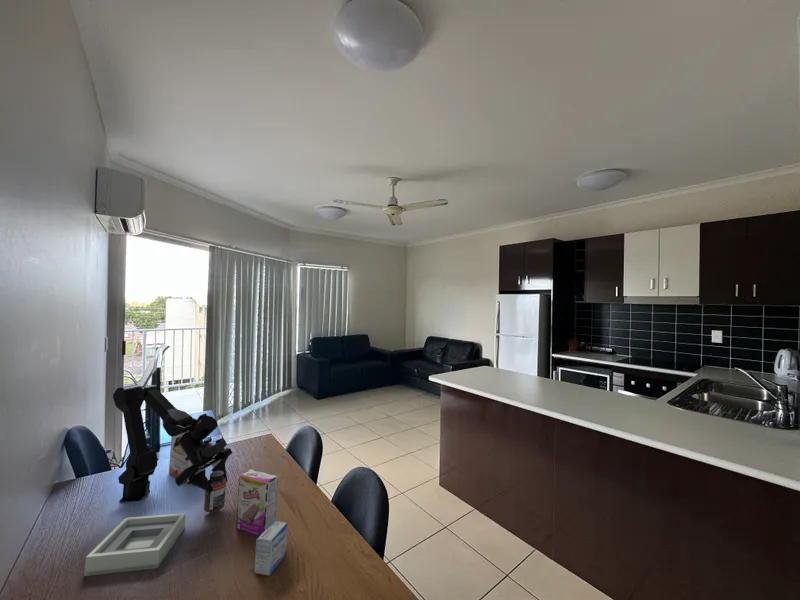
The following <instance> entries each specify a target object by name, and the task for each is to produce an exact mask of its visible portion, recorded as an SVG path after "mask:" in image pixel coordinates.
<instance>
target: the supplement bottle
mask: <svg viewBox="0 0 800 600" xmlns="http://www.w3.org/2000/svg"><path fill="white" fill-rule="evenodd" d="M223 476H224V472H223V471H215V472H210V475H209V479H208V481H209V482H210V484H211V486H212V488H213V491H212V492H211V493H210V492H208V491H206V490H204V492H205V493H204V503H203V505H204V506H203V511H204V512H206V513H208V514H209V513H211V514H212V513H216V512H217V513H218V512H220V511H221V510H222V509H223V508H224V507H225V503H226V491H227V488H226V487H227V482H226V479H225V478H224V477H223Z"/></svg>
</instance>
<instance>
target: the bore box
mask: <svg viewBox="0 0 800 600" xmlns="http://www.w3.org/2000/svg"><path fill="white" fill-rule="evenodd" d="M186 517H187V513H186V512H183V513H181V512H180V513H169V514H159V515H144V516H132V517H125V518H124V519H123V520H122V521H121V522H119V524H118V525H117V526H115V528H113V530H112V531H110V533H109V534H108V535H107V536H105V538H104V539H102V541H101V542H99V544H98V545H96V547H95V548H93V549H92V550H91V551H90V552H89V553H88V555H86V557H85V561H84V571H83V572H84V573H83V577H89V576H91V577H92V576H99V575H108V573H109V574H116V573H117V574H118V573H126V572H133V571H134V572H135V571H144V570H153V569H154V570H155V569H158V568H159V567H160V566H161V564H162V562H163V561H164V559H165V558H166V557H167V555H168V553H169V552H170V551H171V549H172V548H173V546H174V545H175V544H176V542H177V541H178V539H179V538H180V536H181V535H182V533H183V531H184V530H185V527H186Z"/></svg>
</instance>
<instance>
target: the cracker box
mask: <svg viewBox="0 0 800 600" xmlns="http://www.w3.org/2000/svg"><path fill="white" fill-rule="evenodd" d="M187 432H190V431H187ZM187 432H185V433H187ZM185 433H182V434H180V435H177V436H170V437H171V438H170V439H171V440H170V452H169V464H168V465H169V466H168V473H169V474H170V475H171V476H173V477H174V478H176V477H177V476H178V475H179V474H180V473H182V472H183V471H184V470H185V469H186V468H188V467H190V466H192V463H191V462H190V460H188V461H186V460H185V458H186V457H187V455H186V454H185V452H184V450H183V449H182V447H181V446H180V445H179V446H176V447H174V444H175V441H176V438H178V437H181V436H182V435H183V434H185ZM202 441H203V442H204V440H202ZM188 482H189V480H188V479H187V482H186V483H185V484H187V483H188Z"/></svg>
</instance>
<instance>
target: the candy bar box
mask: <svg viewBox="0 0 800 600" xmlns="http://www.w3.org/2000/svg"><path fill="white" fill-rule="evenodd" d="M278 482H279V476H278V475H275V474H271V473H266V472H264V471H259V470H255V469H252V468H251V469H249V470H246V471H245V472H243V473H240V475H239V480H238V490H237V491H238V492H237V493H238V494H237V495H238V497H237V508H236V509H237V510H236V522H235V523H236V524H235V530H237V531H242V532H244V533H247V534H250V535H253V536H256V537H259V536H260V535H261V534H262V533H263V532H264V531H265V530H266V529H267V528H268V527H269V526H270V525H271V524H272V523H273V522H274V521H276V517H277V516H276V515H277V514H276V513H277V499H278Z"/></svg>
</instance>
